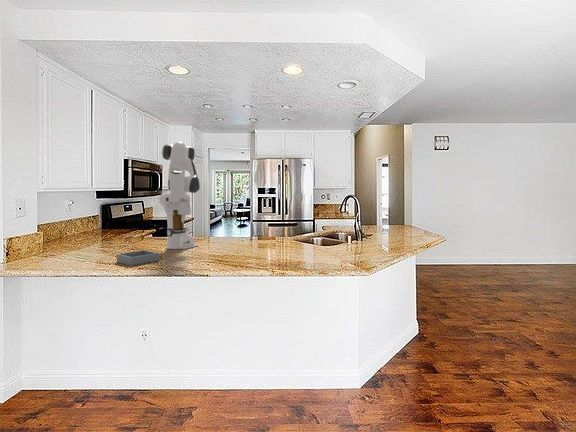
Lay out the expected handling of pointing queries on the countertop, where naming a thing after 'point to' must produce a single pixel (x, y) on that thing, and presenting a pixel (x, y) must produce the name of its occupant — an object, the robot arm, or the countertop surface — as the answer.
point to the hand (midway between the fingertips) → (178, 221)
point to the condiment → (177, 221)
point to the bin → (137, 257)
